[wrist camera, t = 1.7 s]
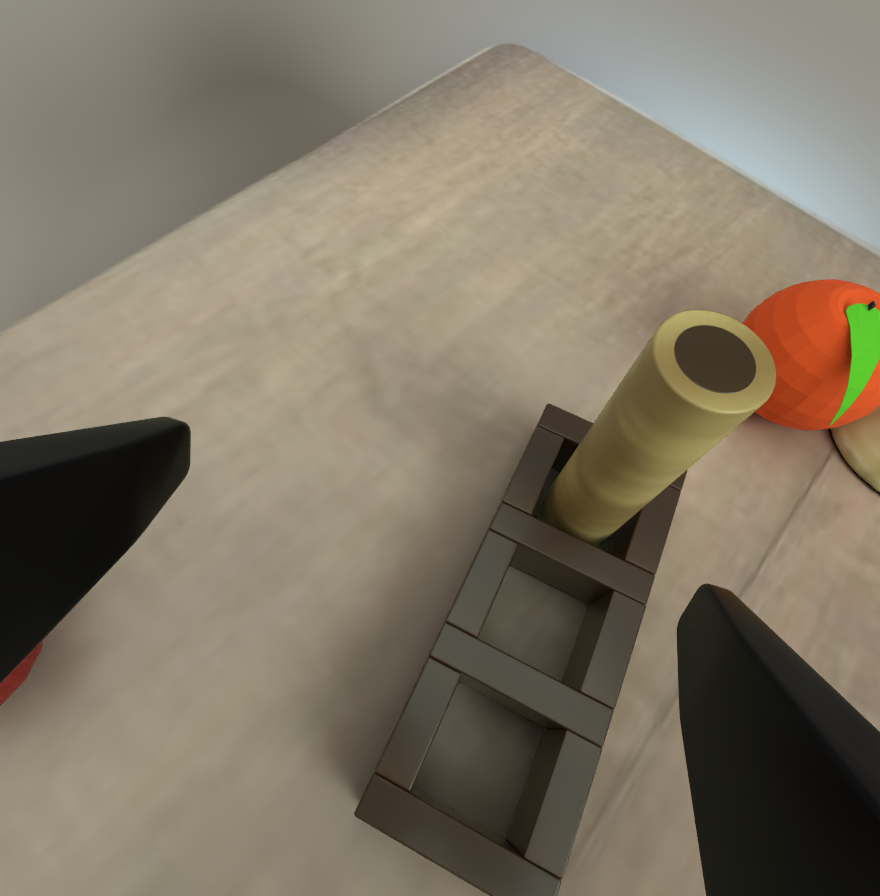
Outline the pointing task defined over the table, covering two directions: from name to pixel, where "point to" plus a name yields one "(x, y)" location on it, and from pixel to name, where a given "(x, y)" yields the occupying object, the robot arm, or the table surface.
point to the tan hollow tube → (660, 421)
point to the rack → (525, 680)
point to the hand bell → (862, 446)
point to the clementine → (821, 353)
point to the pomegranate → (18, 674)
